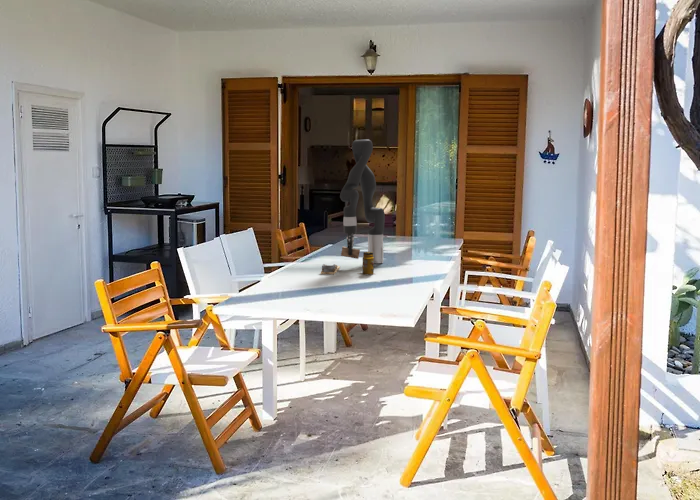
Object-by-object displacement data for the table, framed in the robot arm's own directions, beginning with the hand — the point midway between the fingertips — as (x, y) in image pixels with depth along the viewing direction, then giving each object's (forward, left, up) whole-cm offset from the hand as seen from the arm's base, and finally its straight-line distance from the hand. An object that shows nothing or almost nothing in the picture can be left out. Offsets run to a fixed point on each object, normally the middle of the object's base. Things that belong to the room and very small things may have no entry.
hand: (350, 254), depth 398 cm
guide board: (+10, +9, -8) cm, 16 cm away
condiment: (-11, +18, -8) cm, 23 cm away
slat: (+1, 0, -1) cm, 2 cm away
